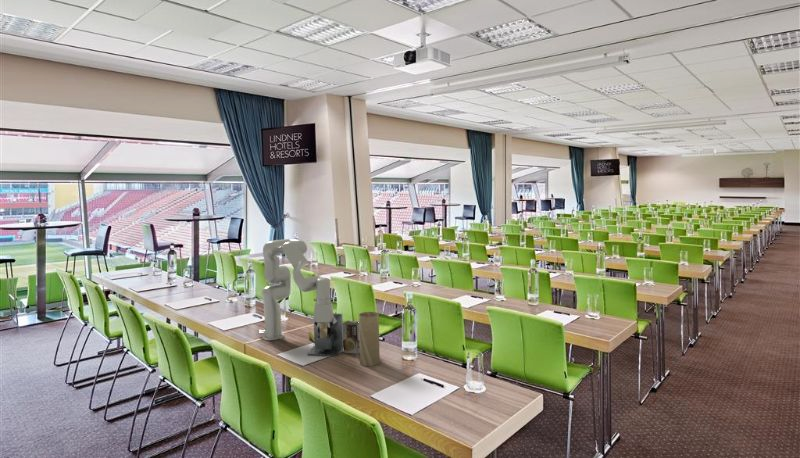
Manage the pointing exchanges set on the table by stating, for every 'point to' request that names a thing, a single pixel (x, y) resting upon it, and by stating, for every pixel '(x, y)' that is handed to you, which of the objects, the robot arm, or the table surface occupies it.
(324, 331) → the wooden block
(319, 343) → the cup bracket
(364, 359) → the tube
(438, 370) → the table surface
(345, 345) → the coffee box
